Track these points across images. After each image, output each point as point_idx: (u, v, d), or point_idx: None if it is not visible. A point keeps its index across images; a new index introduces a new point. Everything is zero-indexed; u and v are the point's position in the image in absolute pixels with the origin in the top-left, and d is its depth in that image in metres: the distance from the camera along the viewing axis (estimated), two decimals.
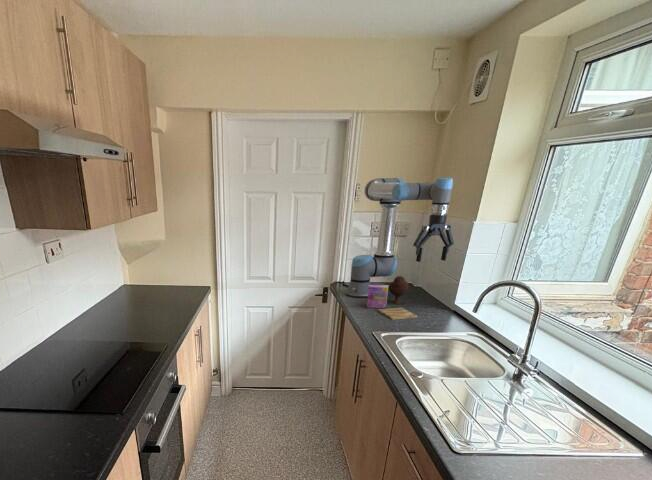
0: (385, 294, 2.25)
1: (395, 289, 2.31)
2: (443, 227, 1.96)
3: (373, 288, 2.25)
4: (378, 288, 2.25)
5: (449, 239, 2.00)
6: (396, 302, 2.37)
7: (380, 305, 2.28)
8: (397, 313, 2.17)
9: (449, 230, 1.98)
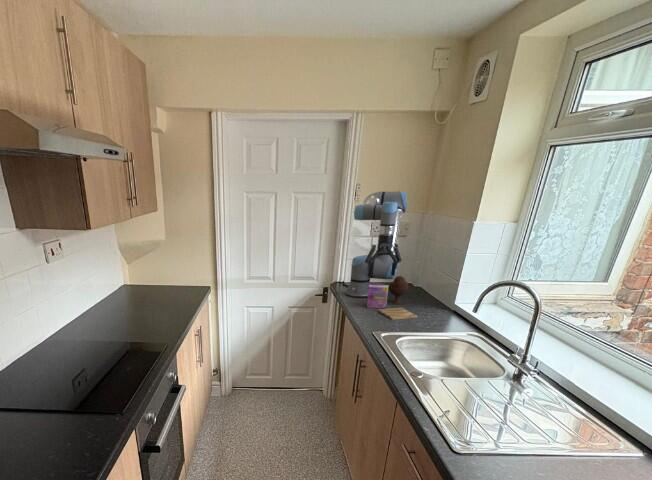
0: (385, 294, 2.25)
1: (395, 290, 2.31)
2: (391, 246, 2.17)
3: (373, 288, 2.25)
4: (378, 288, 2.25)
5: (397, 256, 2.21)
6: (396, 302, 2.37)
7: (380, 305, 2.28)
8: (397, 313, 2.17)
9: (396, 248, 2.18)
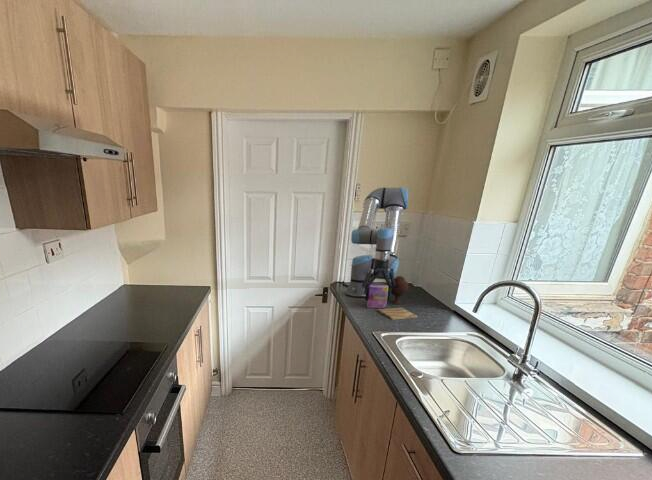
0: (385, 294, 2.25)
1: (395, 289, 2.31)
2: (386, 270, 2.22)
3: (373, 288, 2.25)
4: (378, 288, 2.25)
5: (392, 280, 2.26)
6: (396, 302, 2.37)
7: (380, 305, 2.28)
8: (397, 313, 2.17)
9: (392, 273, 2.24)
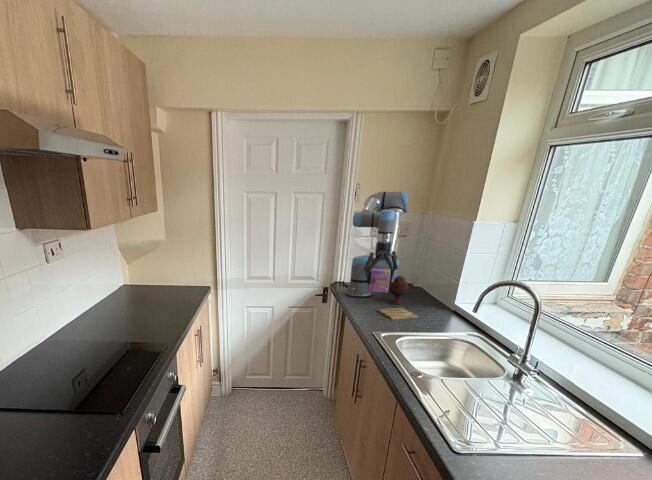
0: (387, 278, 2.21)
1: (395, 290, 2.31)
2: (388, 253, 2.19)
3: (375, 272, 2.22)
4: (380, 271, 2.21)
5: (394, 264, 2.23)
6: (396, 302, 2.37)
7: (382, 289, 2.24)
8: (397, 313, 2.17)
9: (394, 256, 2.20)
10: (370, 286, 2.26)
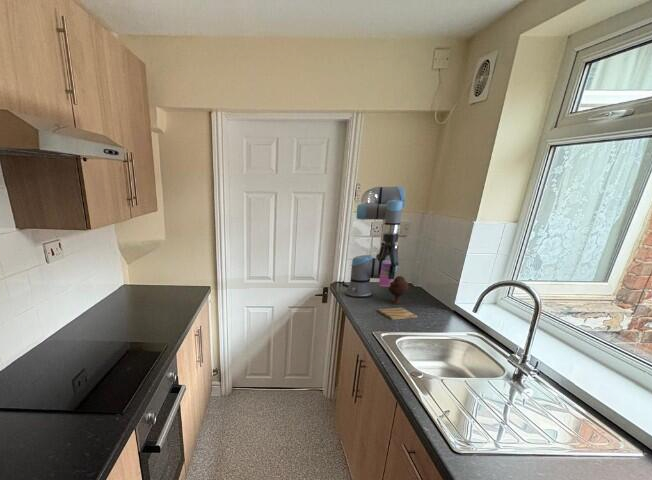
0: None
1: (395, 289, 2.31)
2: None
3: None
4: None
5: (382, 255, 2.22)
6: (396, 302, 2.37)
7: None
8: (397, 313, 2.17)
9: None
10: None
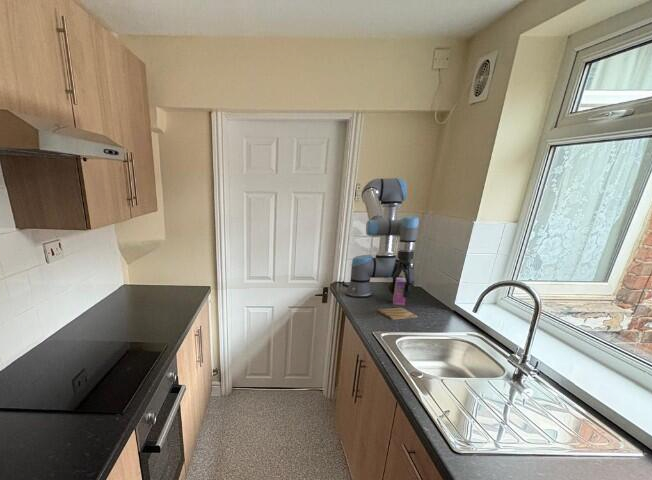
0: None
1: None
2: None
3: None
4: None
5: None
6: None
7: None
8: (397, 313, 2.17)
9: None
10: None
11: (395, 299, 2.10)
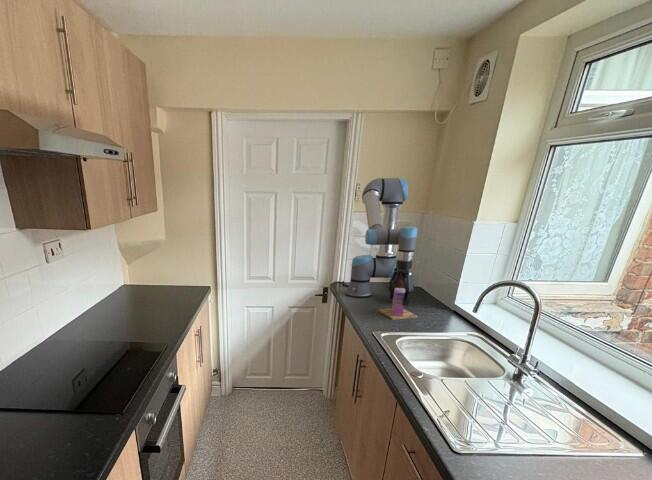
0: None
1: None
2: None
3: None
4: None
5: None
6: None
7: None
8: None
9: None
10: (403, 309, 2.12)
11: (394, 309, 2.13)
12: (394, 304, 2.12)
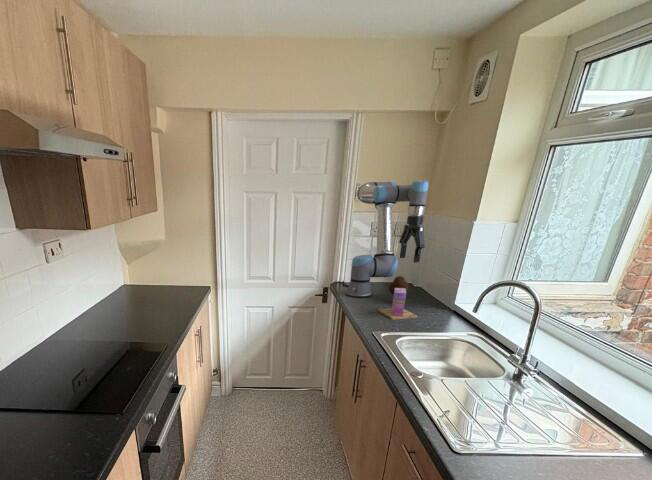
0: None
1: None
2: None
3: None
4: None
5: None
6: None
7: None
8: None
9: None
10: (403, 309, 2.12)
11: (394, 309, 2.13)
12: (394, 304, 2.12)
